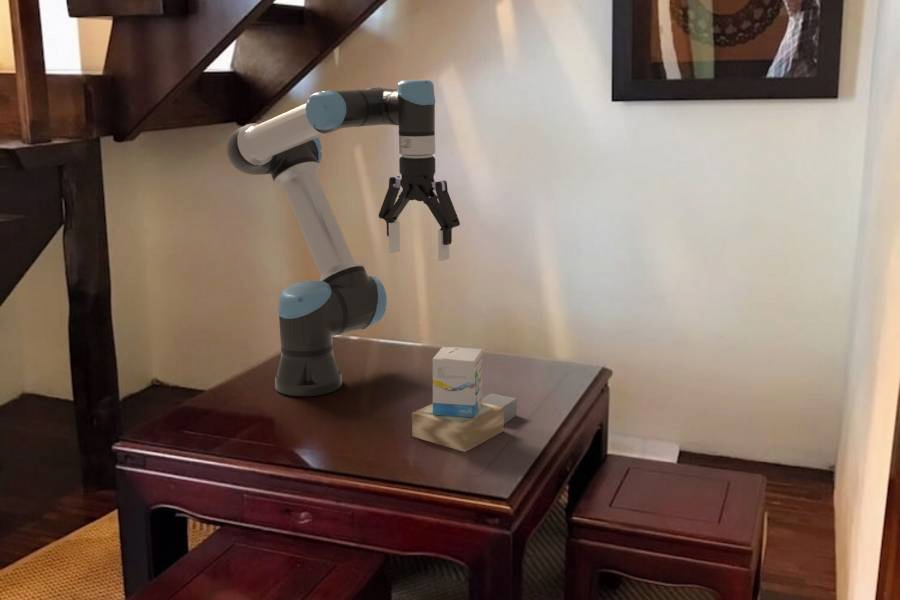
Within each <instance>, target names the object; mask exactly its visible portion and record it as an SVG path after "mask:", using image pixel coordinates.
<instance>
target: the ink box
mask: <svg viewBox="0 0 900 600" xmlns="http://www.w3.org/2000/svg"><path fill="white" fill-rule="evenodd" d="M482 399H483V349H482V348H472V347H471V348H470V347H458V346H450V347H446V346H442V347H441V348H440V350H438V351H437V353H436V354H435V355H434V356H433V358H432V404H433V415H445V416H458V417H473V418H474V417H475V415H476V413H477V412H478V410H479V408H480V407H481V405H482Z"/></svg>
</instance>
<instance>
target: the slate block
mask: <svg viewBox="0 0 900 600" xmlns="http://www.w3.org/2000/svg"><path fill="white" fill-rule="evenodd" d="M517 399H518V398H516V397H512V396H507V395H503V394H496V393H490V394H488V395H486V396H485V397H482V402H483V403H487V404H491V405H495V406H499V407H503V408H504V424H506V423H507V422H509V421H510V420H512V419H513V418H515V417H517V408H518V407H517V403H518V401H517Z"/></svg>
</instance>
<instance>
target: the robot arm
mask: <svg viewBox="0 0 900 600" xmlns="http://www.w3.org/2000/svg"><path fill="white" fill-rule="evenodd" d="M435 107H436V95H435V87H434V83H433V82H432V81H431V80H430V79H402V80H399V81H398V82H397V88H385V87H378V86H377V87H369V88H368V87H367V88H365V89H353V90H352V89H351V90H347V89H346V90H330V89H329V90H323V91H318V92H315V93H312V94H311V95H310V96H309V99H308V100H307V101H306V103H304V104H301V105H299V106H296V107H295V108H293V109H290V110H288V111H286V112H284V113H282V114H279V115H277V116H275V117H273V118H271V119H268V120H266V121H263V122H261V123H248V124H245V125H244V126H241V127H238V128H237V129H236V130H234V131H233V132H232V133H231V134H230V135H229V137H228V139H227V141H226V154H227V158H228V160H229V162H230V163H231V165H232V166H233V167H234V168H235V169H236V170H238V171H239V172H242V173H244V174H247V175H251V176H258V175H259V176H260V175H270V176H271V178H272V180H273V182H274V184H275V186H276V187H279V188H281V189H283V190H284V192H285V195H286V197H287V200H288V203H289V204H290V207H291V209H292V212H293V214H294V216H295V218H296V221H297V223H298V225H299V228H300V230H301V232H302V235H303V236H304V240H305V242H306V244H307V247H308V249H309V250H310V251H309V252H310V254H311V255H312V259H313V260H314V263H315V265H316V267H317V270H318V273H319V275H320V279H319V280H309V281H301V282H296V283H293V284H291V285H289V286H287V287H285V288H284V289H283V290H281V292H280V294H279V296H278V308H277V314H278V319H279V335H280V351H281V352H280V353H281V355H280V358H279V363H278V366H277V367H278V368H277V373H276V374H275V378H274V388H275V390H276V391H277V392H278V393H280V394H282V395H286V396H292V397H314V396H316V397H317V396H322V395H326V394H330V393H333V392H335V391H337V390H338V389H340V388H341V387H342V385H343V376H342V372H341V370H340V368H339V365H338V362H337V359H336V356H335V353H334V346H333V345H334V344H333V337H335V336H339V335H342V334H347V333H351V332H355V331H359V330H365V329H367V328H369V327H372V326H375V325H377V324H379V322H381V320H382V319H383V318H384V316H385V314H386V309H387V304H388V301H387V300H388V298H387V291H386V288H385V285H384V284H383V283H382V281H381V280H380V279H379V278H377V277H376V276H374V275H368V273H367V271H366V269H365V267H364V265H363V264H361V263H357V262H355V260H354V257H353V255H352V253H351V251H350V248H349V245H348V244H347V241H346V238H345V236H344V235H343V232H342V230H341V227H340V225H339V222H338V220H337V219H336V215H335V214H334V211H333V209H332V207H331V204H330V202H329V200H328V199H329V198H328V197H327V195H326V192H325V190H324V188H323V186H322V183H321V181H320V179H319V176H318V173H319V171H320V169H321V165H320V163H321V160H322V157H323V153H322V151H321V150H322V149H323V148H322V143H321V141H320V137H323V136H325V135H328V134H330V133H333V132H335V131H338V130H341V129H345V128H347V129H348V128H355V127H356V128H357V127H359V128H360V127H369V126H382V125H384V126H385V125H387V126H398V145H399V147H398V149H399V151H398V152H399V153H398V154H399V155H401V156H400V158H399V159H398V161H399V162H398V165H399V166H398V167H399V169H398V170H399V174H400V175H401V176H400V175H397V176H395V175H394V176H390V177H389V179H388V188H387V191H386V194H385V197H384V200H383V201H382V204H381V208H380V210H379V212H378V218H379V219H382V220H384V221H385V223H386V224H385V225H386V236H387V237H388V251H389V253H390V254H394V253H397V252H400V251H401V242H400V241H401V238H400V236H401V234H400V232H401V231H400V227H401V226H400V221H399V219H398V218H399V216H400V215H401V214H402V212H403V210H404V209H405V207H407V205H408V204H409V201H417V202H423V204H425V205H426V206H427V207H428V209H429V211H430V213H431V214H432V216H433V217H434V218H435V220H436V222H437V223H438V225H439V227H440V228H439V229H437V233H438V235H437V238H438V239H437V241H438V246H437V248H438V261H440V262H442V261H446V260H449V259H450V245H451V244H452V242H453V240H452V239H453V236H452V235H453V233H452V232H453V231H452V230H453V228H457V227H460V225H461V222H460V220H459V217H458V215H457V214H458V213H457V211H456V210H455V207H454V204H453V202H452V199H451V197H450V194H449V191H448V182H447V181H446V180H440V181H435V178H434V176H435V173H436V158H435V156H433V155H434V154H436V132H435V131H436V122H435V121H436V117H435V116H436V113H435V112H436V111H435V110H436V109H435ZM401 188H402V190H401ZM400 191H401V192H400ZM399 193H400V194H399ZM397 197H398V199H397Z"/></svg>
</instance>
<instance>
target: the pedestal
mask: <svg viewBox="0 0 900 600" xmlns="http://www.w3.org/2000/svg"><path fill="white" fill-rule="evenodd" d="M411 423H412V424H411V426H412V428H411V429H412V432H411V434H412V437H413V438H415V439H420V440H423V441H427V442H430V443H432V444H436V445H440V446H443V447H446V448H451V449H454V450H456V451H460V452H462V453H463V452H464V453H465V452H467V451H469V450H471V449H473V448H475V447H477V446H478V445H480V444H483V443H484V442H486V441H488V440H491V438H493V437H494V438H495V437H496V436H498V435H499V434H501V433H503V432H504V430H505V428H504V427H505V425H504V424H505V423H504V408H503V407H499V406H495V405H491V404H487V403H483V402H482V405H481V407H480V408H479V410H478V412H477V413H476V415H475V417H474V418H473V417H458V416H445V415H433V403H430V404H428V405H426V406H424V407H422V408H420V409H418V410H415V411H412V413H411Z"/></svg>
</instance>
